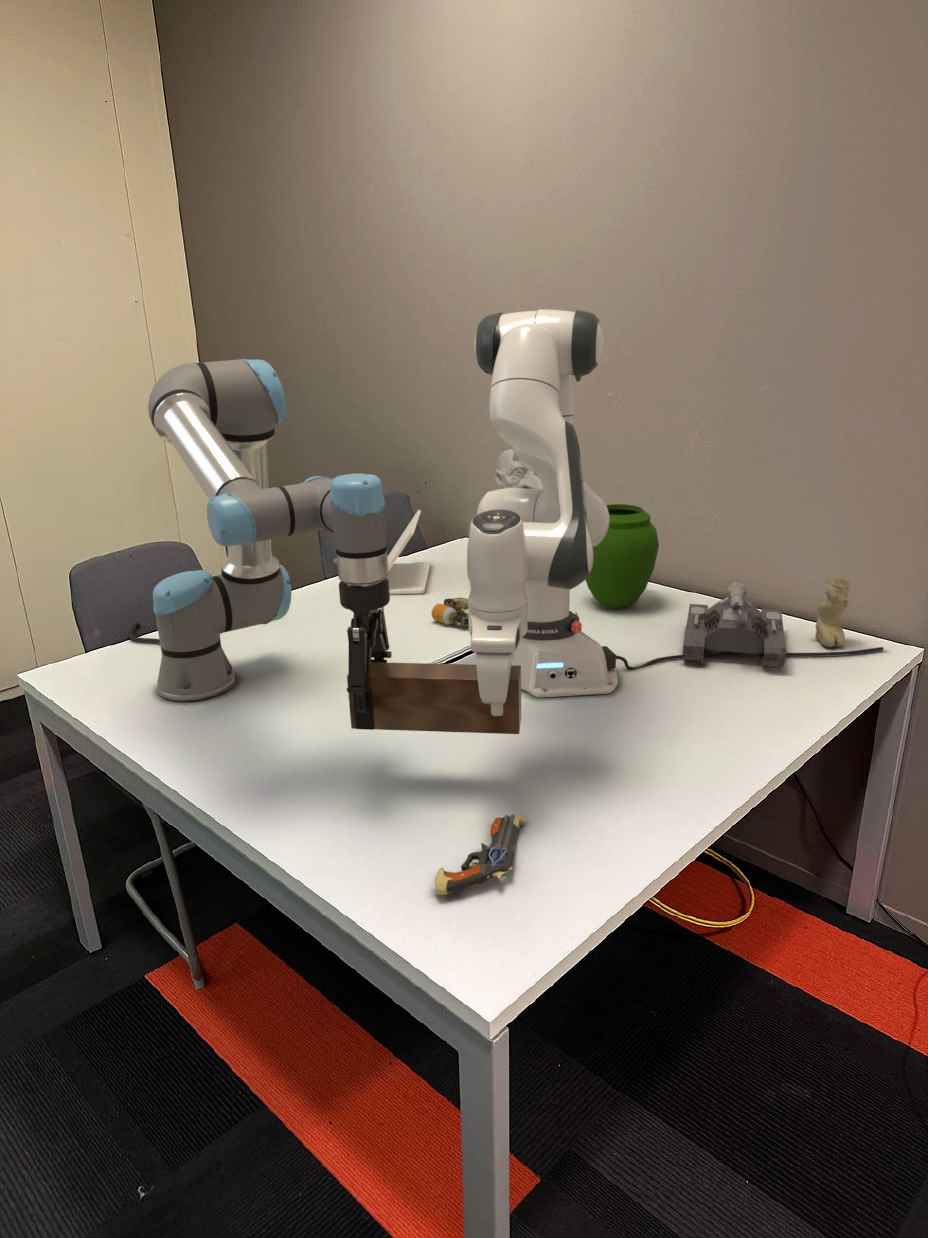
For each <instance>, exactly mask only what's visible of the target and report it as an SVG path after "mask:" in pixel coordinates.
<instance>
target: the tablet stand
mask: <svg viewBox="0 0 928 1238" xmlns="http://www.w3.org/2000/svg"><path fill="white" fill-rule="evenodd" d="M421 513H422V510H421V509H418V510H417V511H416V512H415V514H414V516H413V517H412V518H411V520H410V521H409V523H408V525H407V526H406V528H405V529H404V531H403V532H402V534H401V535H400V537H399V539H398V540H397V541H396V543H395V544H394V546H393V547H392V549H391V551H390V552H389V554H387V557H388V570H389V575H388V577H386V578H387V579H388V580H389V591H390V595H402V594H403V595H407V594H410V595H411V594H413V595H414V594H415V595H416V594H425V591H426V587H427V583H428V578H429V574H430V570H431V563H430V562H404V563H401V562H400V563H395V562H396V561H397V559H398V558H399V556H400V555H401V554H402V552H403V551H404V549H405V547H406V546H407V545H408V543H409V541H410V540H411V538H412V537H413V536H414V534H415V532H416V528H417V525H418V522H419V519H420V516H421Z"/></svg>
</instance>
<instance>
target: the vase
mask: <svg viewBox="0 0 928 1238" xmlns="http://www.w3.org/2000/svg"><path fill="white" fill-rule="evenodd" d="M606 506H607V509H608V512H609V518H610V521H609V528H608V531H607V533H606V535H605V537H604V539H603V540H602V541H601V542H600V543H599V544H598V545H597V546H595V547H593V554H594V559H593V567H592V570H591V573H590V576H589V577H588V578H587V579H586V580H585V583H586V585H587V588H588V590H589V591H590V594H592V597H593V598H594V600H595V601H596V602H597V603H598V604H599V605H600V606H602V607H604V608H606V609H609V610H625V609H628V608H630V607H632V606H634V604H636V602H638V601H639V599H640V597H641V596H642V595H643V593H644V592H645V590H646V588H647V586H648V584H649V581H650V579H651V577H652V574H653V572H654V570H655V566H656V562H657V557H658V552H659V548H660V544H659V543H660V542H659V537H658V531H657V528H656V527H655V526H654V524H653V523H652V522H651V515H650V514H649V512H647V511H645V510H644V509H643V508H642V507H641V506H638V505H633V504H622V503H621V504H619V503H616V504H615V503H614V504H606Z"/></svg>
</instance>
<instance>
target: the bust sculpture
mask: <svg viewBox="0 0 928 1238" xmlns="http://www.w3.org/2000/svg"><path fill="white" fill-rule="evenodd" d="M494 480H495V482H496V484H497V486H498V487H501V489H505V488H526V489H543V485H542V482H541V480H540V478H539V477H538V475H537V474H536V473H534V472H533V471H531V470H529V469H527V468H526V467H524V466H523V465H522V464H521V463H520V462H519V461H518V460H517V458H516V456H515V453H514V448H512V449H506V450H504V451H502V452H501V454H500V455H499V457H498V459H497V461H496V468H495V471H494Z"/></svg>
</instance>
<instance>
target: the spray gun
mask: <svg viewBox="0 0 928 1238" xmlns="http://www.w3.org/2000/svg"><path fill="white" fill-rule="evenodd" d="M430 613H431V617H432V619H433V620H434V621H437V622H439V623H441V624H445V625H452V624H455V623H459V624H461V625H462V626H464V627H465V626H468V627H469V616H468V598H465V597H454V598H444V600H443V603H437V604H435V605H434V606H433V608H432V609H431V612H430Z"/></svg>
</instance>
